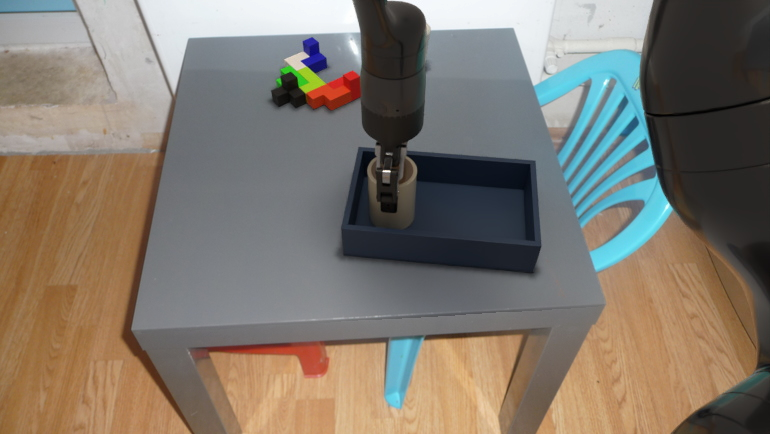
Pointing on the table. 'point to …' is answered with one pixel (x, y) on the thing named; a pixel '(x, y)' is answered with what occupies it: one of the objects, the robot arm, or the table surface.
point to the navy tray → (453, 213)
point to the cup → (405, 197)
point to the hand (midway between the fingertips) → (392, 190)
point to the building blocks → (313, 81)
